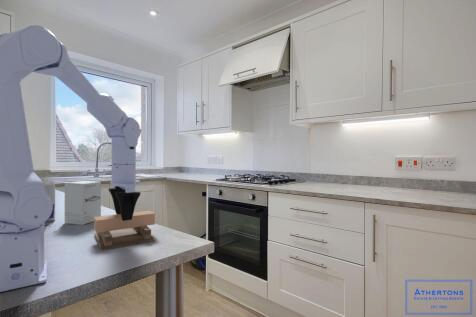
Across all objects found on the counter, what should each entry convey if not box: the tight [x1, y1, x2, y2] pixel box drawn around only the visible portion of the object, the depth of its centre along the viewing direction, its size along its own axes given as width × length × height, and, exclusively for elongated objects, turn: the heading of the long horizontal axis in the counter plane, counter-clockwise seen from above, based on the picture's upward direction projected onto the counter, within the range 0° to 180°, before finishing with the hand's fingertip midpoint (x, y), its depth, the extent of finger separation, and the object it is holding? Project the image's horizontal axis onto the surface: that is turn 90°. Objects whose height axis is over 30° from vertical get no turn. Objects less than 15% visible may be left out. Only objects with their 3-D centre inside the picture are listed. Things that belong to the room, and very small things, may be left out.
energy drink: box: [43, 182, 56, 224], centre depth 83 cm, size 5×5×12 cm
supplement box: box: [64, 180, 102, 226], centre depth 84 cm, size 7×7×13 cm
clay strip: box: [93, 210, 156, 233], centre depth 69 cm, size 14×4×3 cm, turn 125°
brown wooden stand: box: [93, 225, 155, 251], centre depth 69 cm, size 12×12×3 cm
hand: (123, 216), depth 69 cm, fingers open, 7 cm apart
